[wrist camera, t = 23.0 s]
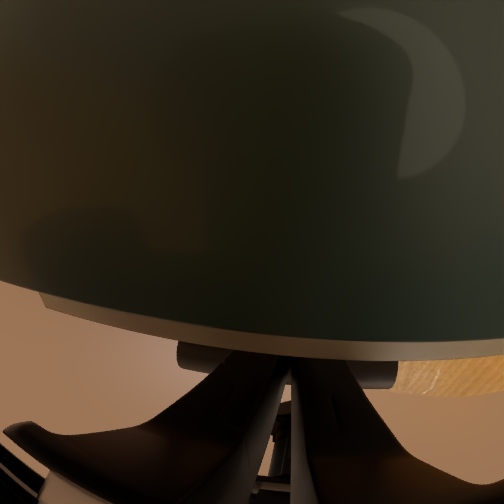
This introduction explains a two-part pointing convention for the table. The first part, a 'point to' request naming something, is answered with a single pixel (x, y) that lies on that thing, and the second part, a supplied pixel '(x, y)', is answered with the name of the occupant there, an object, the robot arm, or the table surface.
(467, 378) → the table surface
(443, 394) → the table surface
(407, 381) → the table surface
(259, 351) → the drawer
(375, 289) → the cabinet
